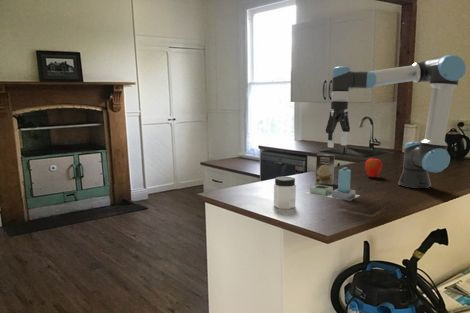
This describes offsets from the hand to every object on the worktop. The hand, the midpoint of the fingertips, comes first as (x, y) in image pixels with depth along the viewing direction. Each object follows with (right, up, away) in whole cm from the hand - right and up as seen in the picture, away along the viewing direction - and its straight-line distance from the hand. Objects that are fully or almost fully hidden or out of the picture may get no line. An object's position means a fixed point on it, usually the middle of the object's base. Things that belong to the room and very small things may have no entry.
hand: (337, 146), depth 181 cm
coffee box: (-1, -20, +21) cm, 29 cm away
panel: (-3, -23, -4) cm, 24 cm away
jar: (-28, -26, -21) cm, 43 cm away
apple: (+32, -17, +41) cm, 55 cm away
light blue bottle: (+1, -23, -7) cm, 24 cm away
